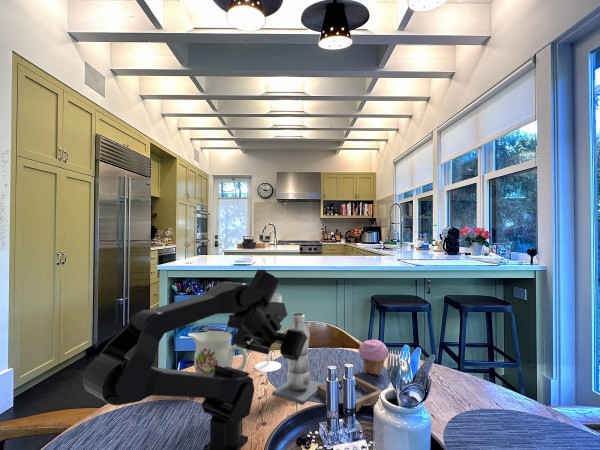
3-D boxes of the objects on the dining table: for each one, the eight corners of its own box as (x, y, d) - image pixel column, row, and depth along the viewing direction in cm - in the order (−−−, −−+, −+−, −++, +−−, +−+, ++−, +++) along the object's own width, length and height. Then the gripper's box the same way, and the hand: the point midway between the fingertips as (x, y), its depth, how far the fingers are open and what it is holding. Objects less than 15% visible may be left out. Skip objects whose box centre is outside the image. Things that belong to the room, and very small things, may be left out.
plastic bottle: (285, 393, 83) (285, 317, 84) (288, 382, 89) (287, 311, 90) (309, 394, 82) (309, 317, 83) (310, 382, 89) (310, 311, 90)
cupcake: (355, 375, 95) (354, 341, 95) (364, 365, 102) (363, 334, 103) (384, 381, 90) (384, 346, 91) (391, 370, 98) (391, 338, 99)
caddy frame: (349, 414, 73) (349, 405, 74) (317, 393, 84) (317, 385, 84) (384, 399, 80) (384, 391, 81) (351, 381, 91) (351, 374, 91)
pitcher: (241, 393, 84) (241, 341, 85) (178, 389, 87) (178, 339, 87) (252, 375, 95) (252, 330, 96) (196, 373, 98) (196, 328, 98)
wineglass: (248, 370, 99) (248, 297, 100) (261, 359, 108) (261, 292, 110) (275, 374, 96) (275, 298, 97) (286, 361, 106) (285, 293, 107)
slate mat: (304, 403, 79) (304, 401, 79) (272, 393, 84) (272, 391, 84) (324, 386, 88) (324, 384, 88) (294, 378, 93) (294, 376, 93)
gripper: (302, 296, 71) (325, 333, 80) (241, 290, 81) (267, 323, 90) (282, 340, 64) (310, 375, 73) (218, 328, 74) (249, 360, 83)
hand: (282, 355), depth 80 cm, fingers open, 9 cm apart
